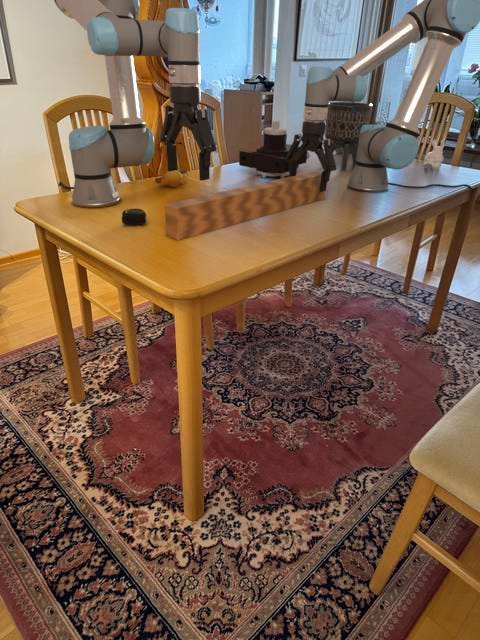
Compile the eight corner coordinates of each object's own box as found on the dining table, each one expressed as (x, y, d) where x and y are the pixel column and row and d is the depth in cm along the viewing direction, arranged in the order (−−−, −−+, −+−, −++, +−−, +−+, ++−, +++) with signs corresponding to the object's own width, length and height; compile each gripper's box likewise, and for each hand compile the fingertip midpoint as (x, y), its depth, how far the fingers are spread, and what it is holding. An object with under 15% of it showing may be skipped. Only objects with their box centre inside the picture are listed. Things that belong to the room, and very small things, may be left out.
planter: (313, 167, 208) (319, 103, 195) (331, 160, 222) (338, 101, 209) (353, 173, 199) (362, 107, 185) (369, 166, 213) (379, 104, 199)
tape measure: (122, 227, 131) (120, 215, 129) (123, 220, 136) (122, 208, 135) (146, 227, 132) (145, 214, 130) (147, 219, 137) (145, 207, 136)
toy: (151, 179, 167) (162, 169, 180) (158, 195, 170) (169, 185, 183) (178, 169, 164) (188, 160, 177) (185, 186, 167) (194, 176, 180)
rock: (349, 150, 248) (350, 137, 244) (362, 152, 242) (364, 139, 239) (333, 152, 240) (335, 139, 237) (346, 155, 235) (348, 142, 231)
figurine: (444, 167, 214) (450, 138, 207) (436, 172, 203) (443, 142, 197) (426, 165, 218) (432, 136, 211) (417, 170, 207) (424, 140, 200)
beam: (312, 195, 166) (314, 171, 161) (323, 198, 163) (326, 173, 158) (166, 235, 126) (164, 204, 122) (177, 240, 123) (176, 208, 119)
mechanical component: (240, 120, 182) (283, 115, 202) (239, 174, 192) (280, 164, 212) (283, 126, 170) (325, 120, 190) (280, 183, 180) (320, 171, 200)
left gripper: (142, 83, 115) (149, 168, 126) (206, 88, 100) (207, 186, 111) (167, 82, 120) (171, 165, 131) (231, 87, 104) (230, 181, 115)
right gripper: (278, 117, 153) (273, 181, 163) (339, 126, 137) (329, 196, 148) (292, 116, 157) (287, 178, 168) (353, 125, 142) (342, 192, 153)
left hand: (188, 175), depth 121 cm, fingers open, 13 cm apart
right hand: (307, 187), depth 158 cm, fingers open, 13 cm apart
